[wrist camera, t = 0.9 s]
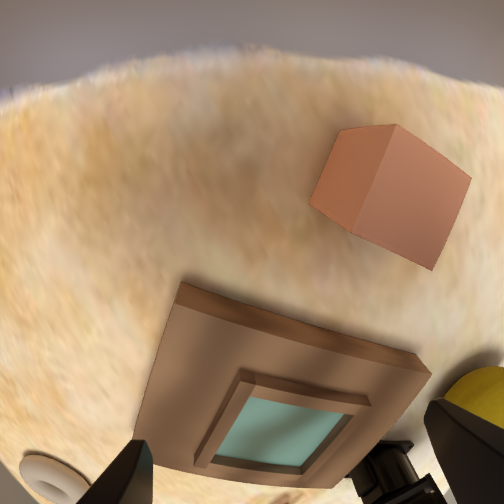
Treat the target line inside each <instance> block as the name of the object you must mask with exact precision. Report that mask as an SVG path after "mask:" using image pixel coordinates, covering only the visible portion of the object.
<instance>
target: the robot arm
mask: <svg viewBox="0 0 504 504" xmlns="http://www.w3.org/2000/svg"><path fill="white" fill-rule="evenodd" d="M424 424H425V427H426V429H427V432H428V435H429V438H430V441H431V444H432V447H433V450H434V453H435V455H436V458H437V460H438V462H439V464H440V467H441V469H442V471H443V473H444V475H445V477H446V479H447V482H448V484H449V486H450V488H451V490H452V493H453V495H454V497H455V499H456V502H457V504H504V429H503V428H501V427H499V426H497V425H495V424H493V423H491V422H489V421H487V420H485V419H483V418H481V417H479V416H477V415H475V414H473V413H471V412H469V411H467V410H465V409H464V408H462V407H460V406H458V405H456V404H454V403H452V402H450V401H448V400H446V399H444V398H442V397H440V398H436V399H433V400H431V401H430V403H429V405H428V407H427V410H426V412H425V415H424ZM413 446H414V444H413V442H389V441H379V442H378V443H377V444H376V445H375V446H374V447H373V448H372V449H371V451H370V452H369V453H368V454H367V455H366V456H365V457H364V458H363V459H362V460H361V461H360V462H359V463H358V464H357V465H356V466H355V467H354V468H353V469H352V470H351V471H350V472H349V473H348V474H347V475H346V476H345V477H344V478H352V481H353V484H354V486H355V489H356V492H357V494H358V496H359V497H361V499H362V502H363V504H447V502H446V500H445V499H444V497H443V495H442V493H441V492H440V490H439V488H438V487H437V485H436V483H435V481H434V480H433V478H432V476H431V475H430V473H428V474H427V475H425V477H423V478H421V479H419V477H418V475H417V473H416V471H415V469H414V467H413V466H412V464H411V462H410V460H409V458H408V456H407V453H408V452H409V451H410V449H411V448H412V447H413ZM431 491H432V492H431ZM152 501H153V456H152V453H151V451H150V449H149V447H148V444H147V442H146V441H145V440H144V439H132V440H130V442H129V443H128V444H127V445H126V446H125V447H124V449H123V450H122V451H121V452H120V453H119V454H118V456H117V457H116V458H115V459H114V460H113V461H112V463H111V464H110V465H109V466H108V467H107V468H106V469H105V471H104V472H103V473H102V474H101V475H100V476H99V478H98V479H97V480H96V481H95V482H94V483H93V484H92V486H91V487H90V488H89V489H88V490H87V491H86V492H85V493H84V495H83V496H82V497H81V498H80V499H79V500H78V501H77V502H76V504H152Z"/></svg>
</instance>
